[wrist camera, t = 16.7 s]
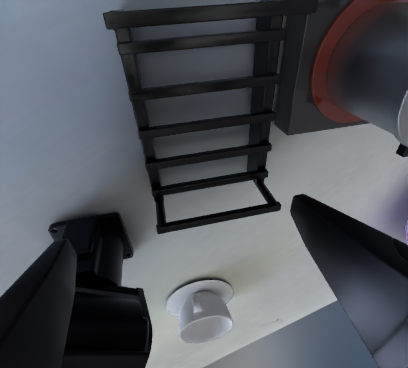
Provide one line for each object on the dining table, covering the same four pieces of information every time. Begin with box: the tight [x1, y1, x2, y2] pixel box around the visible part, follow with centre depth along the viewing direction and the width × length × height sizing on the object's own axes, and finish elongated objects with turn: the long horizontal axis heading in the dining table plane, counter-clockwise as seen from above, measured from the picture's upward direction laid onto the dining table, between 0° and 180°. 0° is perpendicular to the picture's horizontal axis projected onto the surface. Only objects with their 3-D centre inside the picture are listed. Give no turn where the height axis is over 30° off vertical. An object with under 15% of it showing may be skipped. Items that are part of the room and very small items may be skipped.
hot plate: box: [310, 0, 408, 123], centre depth 17 cm, size 9×9×1 cm
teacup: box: [166, 280, 233, 343], centre depth 34 cm, size 10×10×5 cm
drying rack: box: [103, 0, 319, 234], centre depth 17 cm, size 14×10×6 cm
